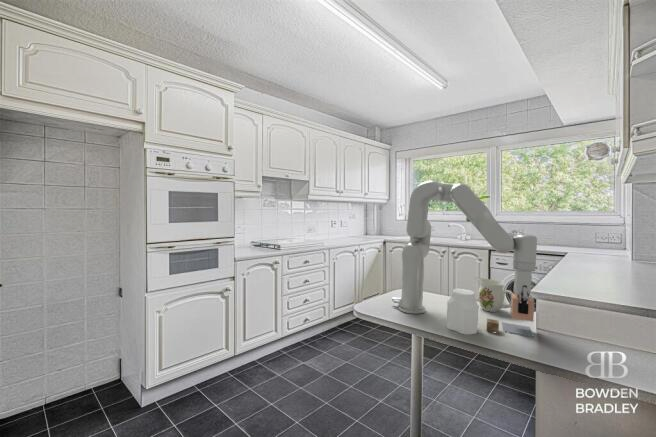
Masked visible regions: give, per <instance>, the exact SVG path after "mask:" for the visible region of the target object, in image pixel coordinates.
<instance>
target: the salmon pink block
mask: <svg viewBox="0 0 656 437" xmlns="http://www.w3.org/2000/svg"><path fill="white" fill-rule="evenodd" d="M510 297H511V298H510V303H511V307H510V316H511V318H512V319H515V320H520V321H521V320H522V321H527V322H528V321H529V322H534V316H535V315H534V313H535V299H534V297H533V296H532V295H530V297H528V314H522V313H518V304H519V303H520V299H519V295H518V296H517V295H516V294H515V293H513V294H511V295H510ZM521 298H523V297H521Z"/></svg>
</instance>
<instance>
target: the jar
mask: <svg viewBox="0 0 656 437" xmlns="http://www.w3.org/2000/svg"><path fill="white" fill-rule="evenodd" d="M446 306H447V308H446V309H447V310H446V321H445V327H446V328H447V329H448V330H450V331H454V332H457V333H460V334H462V335H475V334H477V333H478V331H479V330H478V323H479V308H480V304H478V302H477V300H476V292H475V291H472V290H470V289H468V288H467V289H466V288H454V289H452V292H451V296H450V297H449V299H448V300H447V303H446Z"/></svg>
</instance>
